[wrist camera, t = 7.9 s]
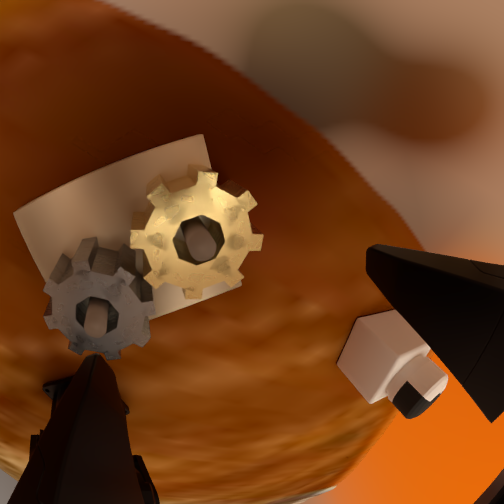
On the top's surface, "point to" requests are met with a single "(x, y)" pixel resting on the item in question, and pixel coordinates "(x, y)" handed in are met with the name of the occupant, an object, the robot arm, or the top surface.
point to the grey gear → (100, 286)
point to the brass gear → (221, 229)
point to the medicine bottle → (391, 363)
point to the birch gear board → (117, 220)
